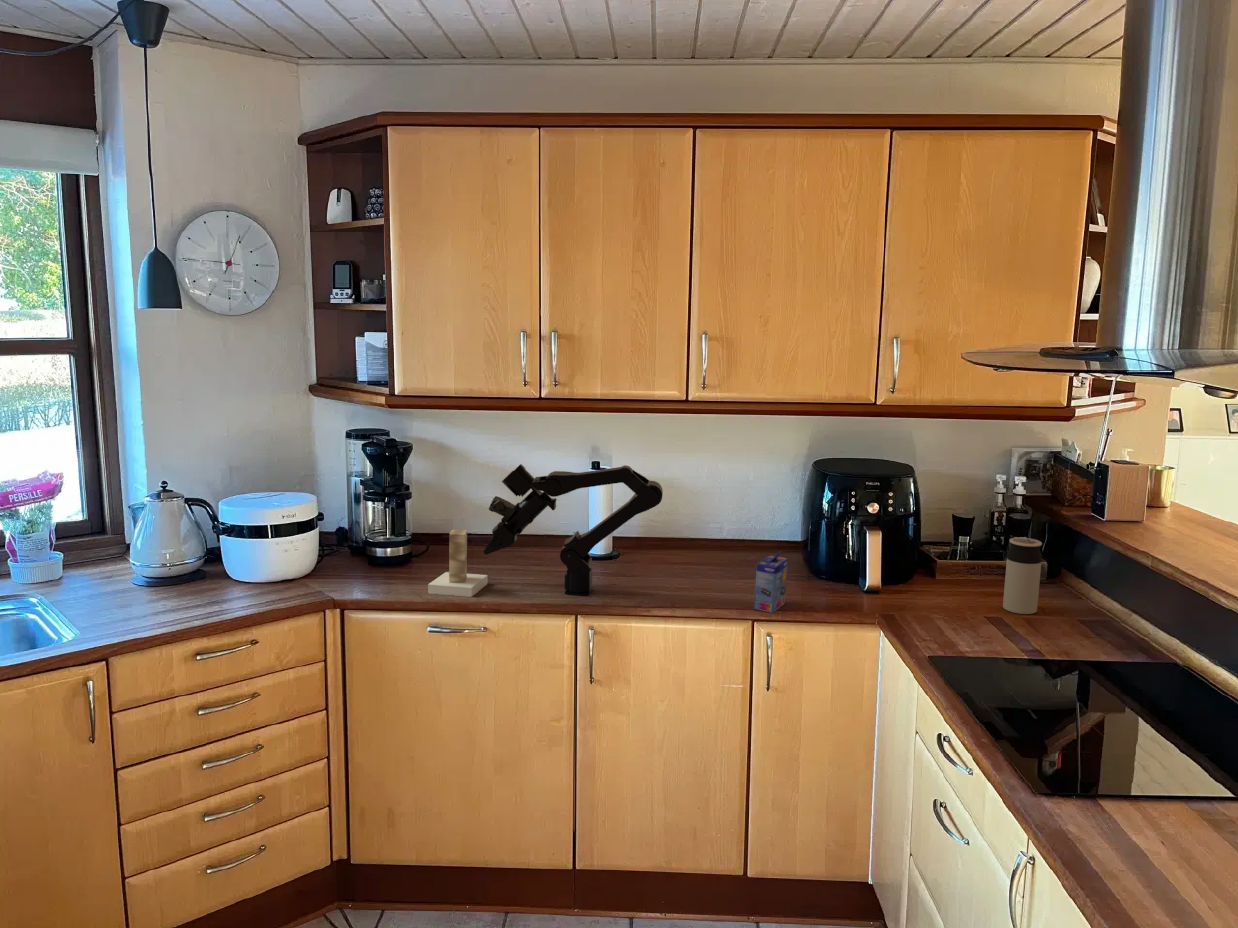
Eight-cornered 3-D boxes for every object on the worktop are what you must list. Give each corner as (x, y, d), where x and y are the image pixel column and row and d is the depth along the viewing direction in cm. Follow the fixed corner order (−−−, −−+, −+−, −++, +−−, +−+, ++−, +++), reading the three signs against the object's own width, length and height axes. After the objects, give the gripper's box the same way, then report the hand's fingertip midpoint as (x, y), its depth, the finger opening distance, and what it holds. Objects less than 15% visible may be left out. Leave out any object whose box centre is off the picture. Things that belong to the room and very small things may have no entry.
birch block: (466, 576, 247) (466, 529, 245) (464, 582, 242) (464, 534, 240) (451, 576, 247) (451, 529, 244) (449, 582, 242) (449, 534, 239)
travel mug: (1025, 617, 227) (1032, 546, 224) (996, 608, 234) (1002, 539, 231) (1043, 611, 232) (1049, 542, 229) (1013, 603, 238) (1019, 535, 235)
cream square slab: (487, 585, 249) (487, 575, 249) (471, 598, 238) (471, 587, 237) (446, 582, 252) (446, 571, 251) (428, 595, 240) (428, 584, 240)
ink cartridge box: (774, 614, 227) (776, 557, 225) (753, 610, 230) (755, 554, 227) (786, 603, 236) (789, 548, 234) (766, 599, 239) (768, 545, 236)
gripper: (513, 480, 249) (473, 519, 251) (500, 494, 230) (458, 535, 233) (542, 509, 250) (502, 548, 252) (532, 525, 231) (489, 566, 234)
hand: (488, 548), depth 243 cm, fingers open, 9 cm apart
